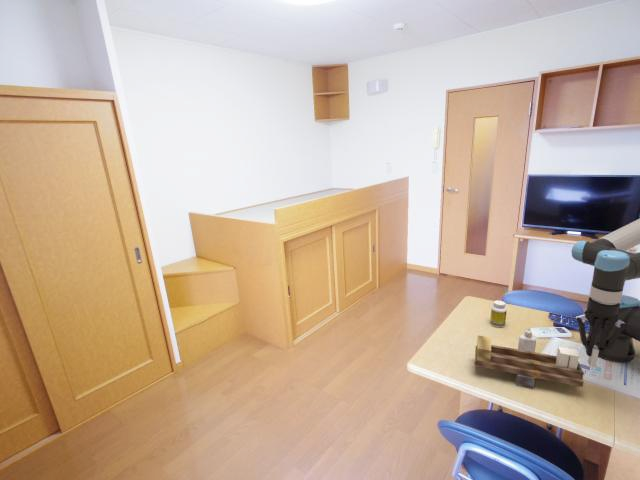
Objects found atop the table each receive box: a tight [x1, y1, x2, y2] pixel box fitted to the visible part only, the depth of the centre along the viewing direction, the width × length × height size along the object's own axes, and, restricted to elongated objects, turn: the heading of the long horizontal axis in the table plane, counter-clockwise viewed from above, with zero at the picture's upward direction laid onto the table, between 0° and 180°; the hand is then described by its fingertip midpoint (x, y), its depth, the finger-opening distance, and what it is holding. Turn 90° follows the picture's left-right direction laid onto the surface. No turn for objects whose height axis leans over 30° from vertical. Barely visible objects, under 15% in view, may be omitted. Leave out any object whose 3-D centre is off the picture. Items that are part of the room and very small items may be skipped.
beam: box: [474, 335, 585, 390], centre depth 119 cm, size 32×12×11 cm, turn 65°
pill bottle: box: [489, 299, 508, 328], centre depth 154 cm, size 6×6×11 cm
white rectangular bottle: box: [517, 327, 537, 352], centre depth 131 cm, size 4×6×12 cm
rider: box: [556, 346, 580, 370], centre depth 113 cm, size 5×4×7 cm
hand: (591, 364), depth 110 cm, fingers closed
